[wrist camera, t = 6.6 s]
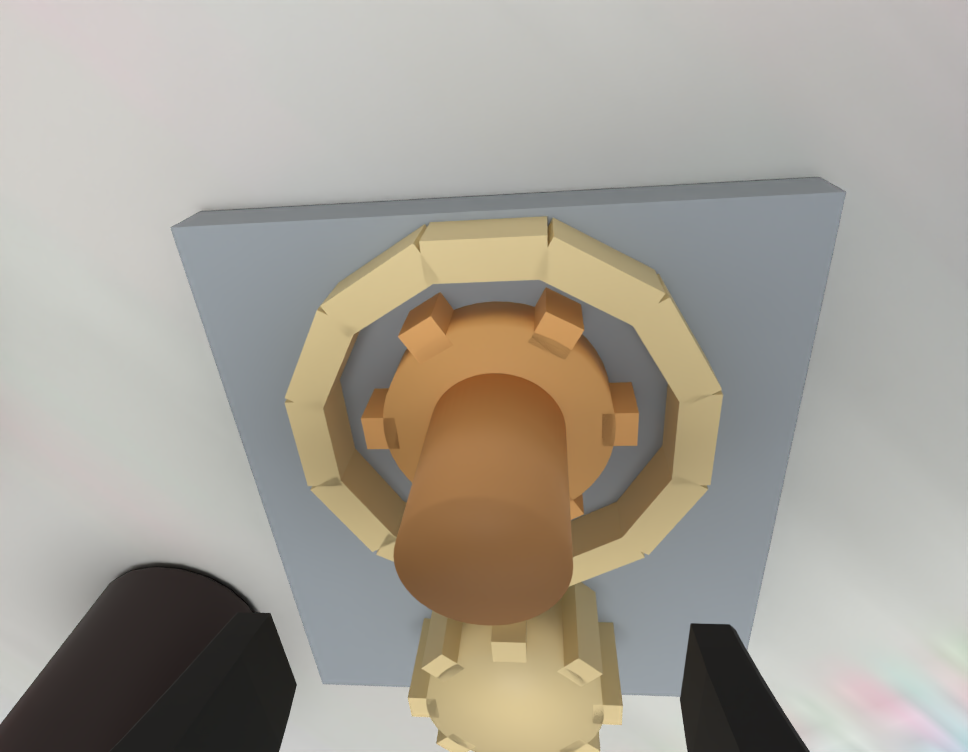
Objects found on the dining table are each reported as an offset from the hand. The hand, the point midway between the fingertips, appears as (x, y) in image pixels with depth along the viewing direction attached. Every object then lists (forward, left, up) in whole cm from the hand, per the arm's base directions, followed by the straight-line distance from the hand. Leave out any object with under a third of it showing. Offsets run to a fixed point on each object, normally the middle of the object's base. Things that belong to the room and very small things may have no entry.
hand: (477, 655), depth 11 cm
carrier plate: (0, +4, -9) cm, 10 cm away
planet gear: (0, 0, -8) cm, 8 cm away
